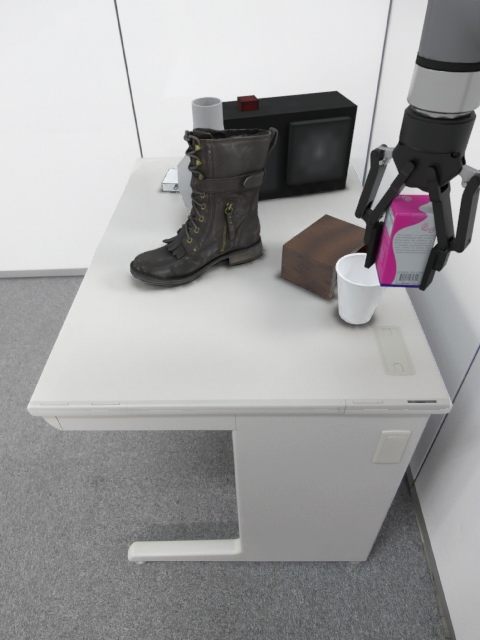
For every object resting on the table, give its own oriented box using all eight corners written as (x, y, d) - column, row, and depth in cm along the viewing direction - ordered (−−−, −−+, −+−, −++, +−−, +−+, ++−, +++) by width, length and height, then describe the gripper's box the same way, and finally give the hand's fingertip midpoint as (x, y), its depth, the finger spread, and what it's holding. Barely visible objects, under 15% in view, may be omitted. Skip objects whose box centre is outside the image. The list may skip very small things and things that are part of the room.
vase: (250, 232, 107) (250, 112, 88) (183, 238, 106) (168, 117, 87) (242, 200, 119) (240, 88, 100) (181, 205, 118) (167, 92, 99)
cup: (386, 332, 81) (399, 285, 74) (332, 333, 81) (340, 286, 74) (374, 298, 88) (386, 252, 81) (325, 298, 88) (331, 252, 81)
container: (174, 168, 135) (173, 160, 134) (210, 169, 134) (210, 161, 132) (157, 200, 121) (156, 191, 119) (198, 201, 120) (197, 192, 118)
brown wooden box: (368, 263, 97) (374, 232, 92) (328, 299, 88) (333, 267, 83) (322, 244, 103) (325, 213, 97) (280, 276, 94) (282, 245, 89)
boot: (125, 269, 97) (92, 136, 78) (257, 230, 108) (258, 104, 88) (141, 298, 90) (109, 159, 70) (281, 254, 100) (288, 121, 81)
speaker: (348, 192, 122) (363, 98, 105) (224, 209, 116) (219, 113, 100) (327, 169, 132) (337, 81, 116) (213, 184, 127) (207, 94, 111)
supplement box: (413, 264, 66) (434, 193, 58) (421, 289, 62) (445, 215, 54) (373, 263, 66) (389, 192, 59) (378, 287, 62) (396, 214, 54)
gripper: (554, 116, 45) (479, 289, 61) (372, 84, 56) (348, 239, 71) (533, 137, 41) (458, 317, 57) (341, 99, 51) (322, 260, 67)
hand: (397, 274), depth 64 cm, fingers closed on supplement box, 8 cm apart
